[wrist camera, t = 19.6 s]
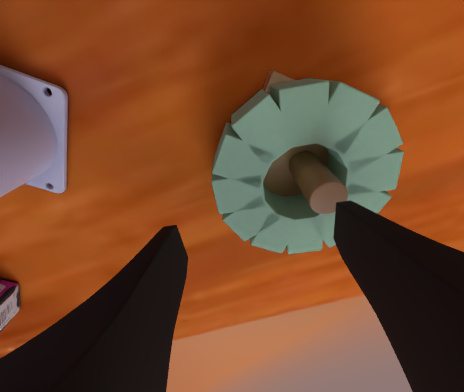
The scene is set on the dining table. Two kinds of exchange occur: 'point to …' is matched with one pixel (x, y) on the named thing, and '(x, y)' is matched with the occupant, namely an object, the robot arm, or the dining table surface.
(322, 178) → the peg stand
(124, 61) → the dining table surface
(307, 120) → the ring
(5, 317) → the candy bar box
